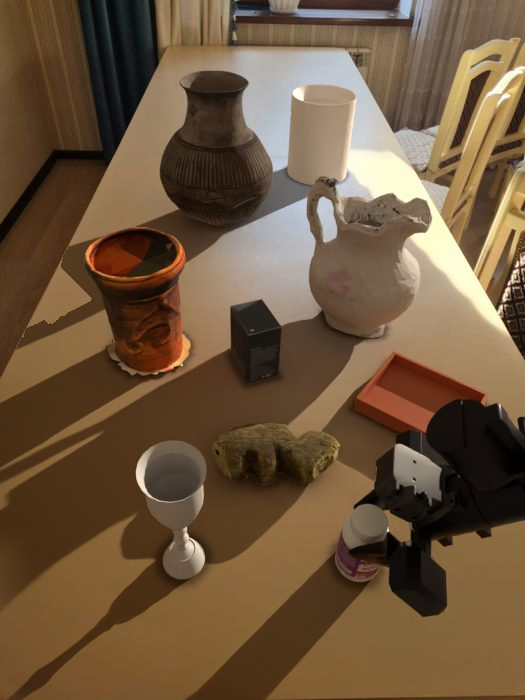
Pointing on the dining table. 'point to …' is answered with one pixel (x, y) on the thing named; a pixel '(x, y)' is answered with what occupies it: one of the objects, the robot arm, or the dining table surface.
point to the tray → (410, 394)
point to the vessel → (141, 297)
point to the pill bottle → (360, 541)
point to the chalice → (175, 500)
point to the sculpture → (273, 453)
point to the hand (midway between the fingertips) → (353, 530)
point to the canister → (320, 132)
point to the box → (255, 341)
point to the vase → (215, 153)
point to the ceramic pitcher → (364, 258)
